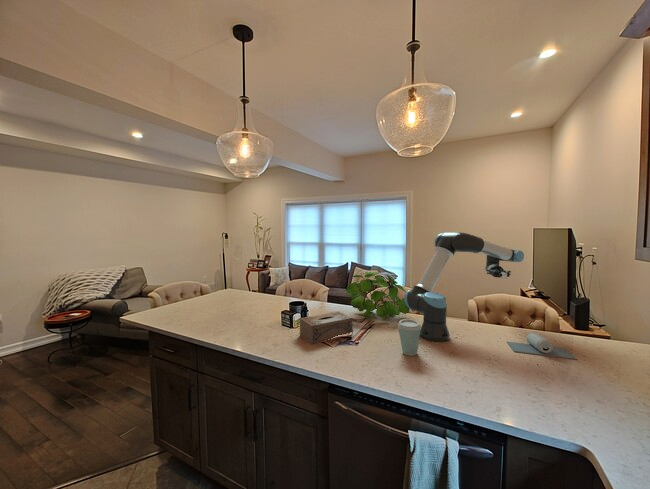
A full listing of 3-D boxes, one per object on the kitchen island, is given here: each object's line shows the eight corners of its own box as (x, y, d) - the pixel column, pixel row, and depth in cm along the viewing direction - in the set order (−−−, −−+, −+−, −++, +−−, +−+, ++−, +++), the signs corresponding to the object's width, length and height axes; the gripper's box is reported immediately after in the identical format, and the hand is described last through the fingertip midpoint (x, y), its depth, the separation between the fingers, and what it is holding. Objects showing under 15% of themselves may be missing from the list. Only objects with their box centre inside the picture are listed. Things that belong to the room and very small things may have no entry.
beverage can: (526, 344, 137) (538, 353, 126) (525, 331, 137) (537, 339, 126) (540, 344, 136) (554, 354, 124) (540, 332, 136) (553, 340, 124)
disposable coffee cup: (422, 359, 122) (422, 326, 121) (398, 357, 124) (398, 324, 123) (419, 349, 132) (419, 319, 132) (396, 347, 134) (396, 317, 134)
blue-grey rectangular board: (514, 351, 129) (514, 350, 129) (506, 342, 140) (506, 341, 140) (577, 359, 120) (577, 358, 120) (564, 349, 131) (564, 348, 131)
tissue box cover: (311, 344, 139) (311, 325, 138) (300, 335, 151) (299, 318, 151) (352, 335, 152) (352, 317, 151) (338, 327, 164) (338, 311, 164)
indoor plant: (397, 296, 214) (406, 265, 199) (406, 337, 178) (419, 303, 163) (342, 289, 215) (348, 257, 200) (341, 329, 179) (347, 294, 164)
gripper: (507, 277, 170) (519, 283, 148) (484, 276, 175) (491, 281, 153) (508, 265, 170) (519, 269, 148) (484, 264, 175) (492, 268, 153)
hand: (505, 276), depth 151 cm, fingers closed
